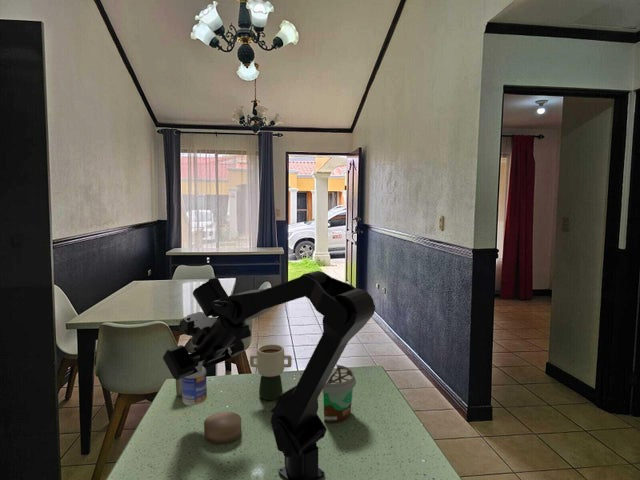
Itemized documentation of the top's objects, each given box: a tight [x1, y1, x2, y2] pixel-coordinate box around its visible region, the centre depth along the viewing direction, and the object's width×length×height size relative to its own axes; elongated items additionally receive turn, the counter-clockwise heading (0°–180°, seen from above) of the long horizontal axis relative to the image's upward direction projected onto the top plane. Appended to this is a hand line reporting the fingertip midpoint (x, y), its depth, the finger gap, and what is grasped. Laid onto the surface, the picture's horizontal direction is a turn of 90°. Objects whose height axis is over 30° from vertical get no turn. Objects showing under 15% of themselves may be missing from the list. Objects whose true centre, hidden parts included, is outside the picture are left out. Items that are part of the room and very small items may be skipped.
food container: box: [321, 364, 357, 424], centre depth 101 cm, size 12×6×10 cm, turn 161°
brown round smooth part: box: [203, 411, 242, 445], centre depth 93 cm, size 8×8×3 cm
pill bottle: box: [181, 357, 208, 406], centre depth 96 cm, size 5×5×10 cm
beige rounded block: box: [175, 378, 182, 397], centre depth 112 cm, size 6×5×8 cm
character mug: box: [249, 343, 293, 401], centre depth 110 cm, size 11×7×13 cm, turn 90°
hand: (190, 371), depth 96 cm, fingers closed on pill bottle, 5 cm apart
